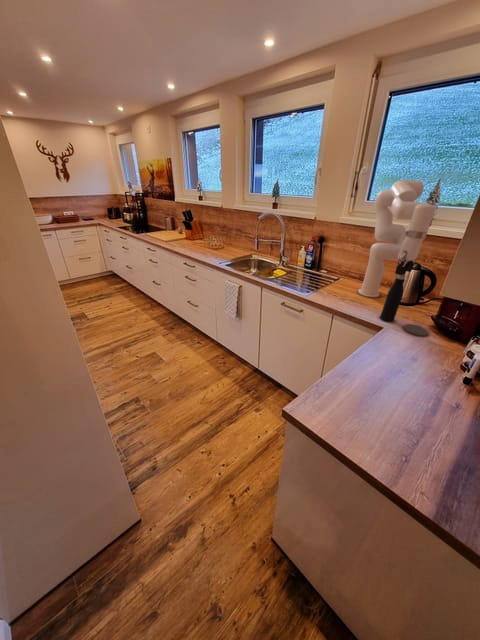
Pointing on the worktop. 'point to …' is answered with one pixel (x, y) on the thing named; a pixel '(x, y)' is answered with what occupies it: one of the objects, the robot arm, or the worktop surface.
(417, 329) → the slate coaster
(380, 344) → the worktop surface
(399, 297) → the black bottle
